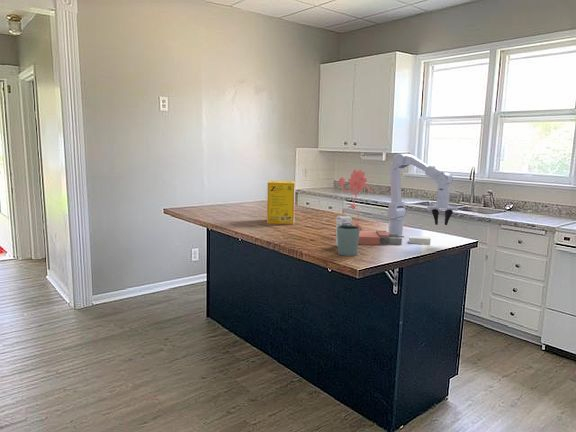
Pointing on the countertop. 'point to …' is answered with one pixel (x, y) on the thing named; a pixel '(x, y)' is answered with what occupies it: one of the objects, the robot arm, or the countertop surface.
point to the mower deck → (378, 237)
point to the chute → (419, 240)
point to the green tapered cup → (348, 239)
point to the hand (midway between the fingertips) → (441, 224)
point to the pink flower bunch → (355, 186)
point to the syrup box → (342, 223)
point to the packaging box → (280, 202)
